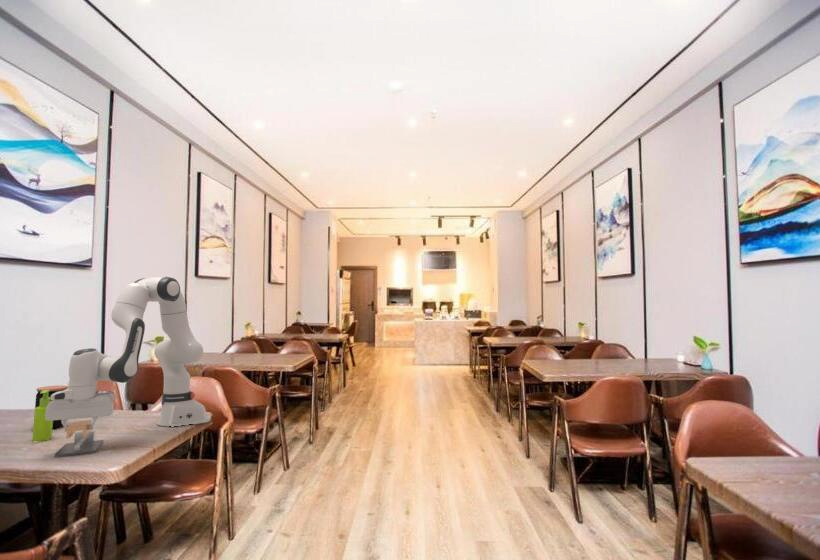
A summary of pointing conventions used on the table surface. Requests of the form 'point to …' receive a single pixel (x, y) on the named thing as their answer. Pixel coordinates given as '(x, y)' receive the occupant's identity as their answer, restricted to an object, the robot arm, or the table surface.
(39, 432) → the soap dispenser
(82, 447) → the dock plate
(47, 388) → the coffee jar
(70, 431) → the lock block
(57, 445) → the table surface
